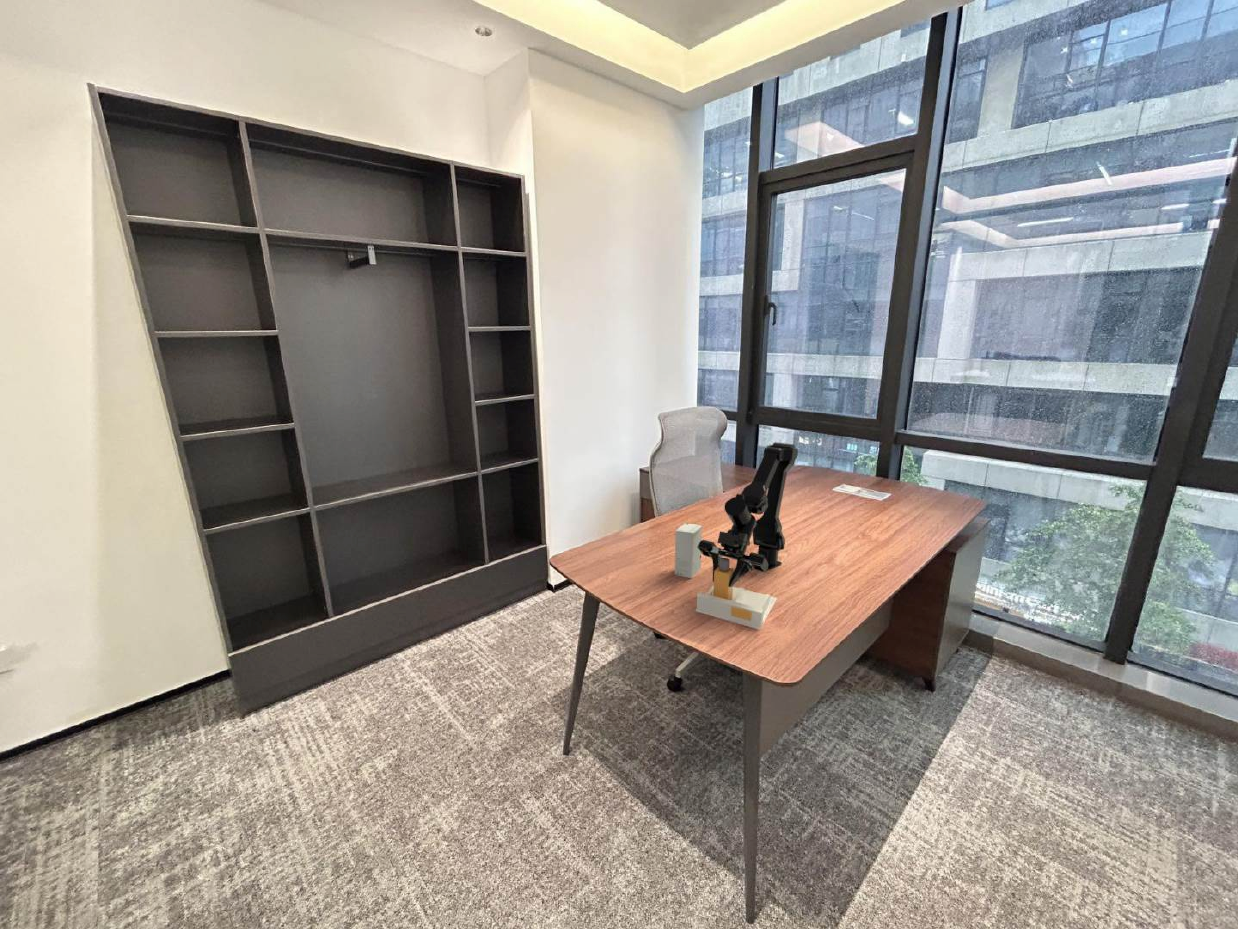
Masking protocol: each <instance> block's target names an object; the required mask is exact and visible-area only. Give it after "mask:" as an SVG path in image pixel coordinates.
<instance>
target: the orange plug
mask: <svg viewBox="0 0 1238 929" xmlns="http://www.w3.org/2000/svg"><path fill="white" fill-rule="evenodd" d="M734 570H735V569H734V568H732V567H730V558H728V557H722V558H720V562H719V567H718V568H717V569H716V570H715V571H714V582H713V585H714V591H713V596H716V597H720V598H723V599H727V600H732V596H733V587H734V585H733V586H732V587H729V582H730V579H731V577H732V575H733V572H734Z"/></svg>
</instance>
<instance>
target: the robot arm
mask: <svg viewBox="0 0 1238 929" xmlns="http://www.w3.org/2000/svg"><path fill="white" fill-rule="evenodd" d="M798 455H799V449H798V448H796V445H795V444H793V443H783V442H775V441H774V442H773V443H772V444H769V445H766V447H765V448H764V449H763V457H762V459H761V461H760V463H759V465H758V468H757V470H756V472H755V474H754V477H753V479H752V481H751V483H750V484H748V485H746V486H745V487H744V488H743V489H742V491H741V493H740V494H739V493H736V495H735V496H734V497H731V498H729V499H728V500H726V502H725V503H724V506H723V507H724V511H725V514H726V515H727V516H728V518H729V520H730V522H731V523H732V525H731V529H728V530H727V532H725V531H719V534H718V539H717V542H716V543H717V544H720V546H721V547H722V548H721V547H718V546H717V545H716V543H715V541H710V540H706V539H701V541H700V542H699V544H698V549H699V550H700V552H701V555H703V556H704V557H707V558H711V561H712V582H713V583H714V571H715V570H716V569H717V568H718V567H719V562H720V558H728V559H732V560H735V561H736V566H735V569H734V572H733V575H732V577H731V579H730V582H729V587H732V586H733V587H734V585H735V584H736V583H737V582H738V581H739V580H740V579H741V578H742V577H744V576H745V575H746V574H747V573H749V572H750V573H752V572H753V568H754V570H755V571H757V572H761V573H767V572H768V570H771V569H773V568H775V567H778V566H780V565H779V564H781V565H782V561H780V560H778V558H779V552H780V551H782V550H785V545H786V538H785V536H784V534H783V532H782V531H783V525H782V523H781V520H780V512H781V506H782V500H783V496H784V490H785V485H786V480H787V475H788V472H789V471H790V470H791V469H792V467H794V465H795V462H796V460H797V458H798ZM753 514H754V515H759V516H760V515H761V517H759V518H758V519H756V517H755V516H754V515H753ZM751 538H752V542H753V545H754V546H758V549H757V550H758V551H757V553H756V552H753V551H752V552H751V551H750V553H749V554H748V555H747V554H746V552H747V548H748V547H749V546H750V544H751Z"/></svg>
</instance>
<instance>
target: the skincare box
mask: <svg viewBox="0 0 1238 929" xmlns="http://www.w3.org/2000/svg"><path fill="white" fill-rule="evenodd" d="M702 531H703V526H702V525H699V524H692V523H686V522H685V523H684V524H683V525H680V526H679V528H678V529H676V530H675V533H674V536H675V538H674V575H675V576H680V577H683V578H684V577H685V578H689V579H693V577H694V576H695V575H696V574H697V572H699V571H700V570H701V569H702V553H701V552H700V550H699V549H698V544H699V542H700V541H702V534H703V532H702Z"/></svg>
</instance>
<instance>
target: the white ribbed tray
mask: <svg viewBox="0 0 1238 929" xmlns="http://www.w3.org/2000/svg"><path fill="white" fill-rule="evenodd" d="M713 591H714V584H713V585H712V586H711V588H710V589H709V590H708V591H707V592H706V593H703V592H699V593H698V594H697V595H696V609H695V612H696V613H701V614H705V615H708V616H712V617H714V618H719V619H721V620H725V621H728V622H732V623H735V624H739V625H742V626H746V627H750V628H752V629H757V630H761V628H762V626H763V624H764V623H765V621H766V619H767V617H768V616H769V615H770V614H769V613H770V612H771V610H772V608H773V607H774V605H775V603H776V601H777V600H778V597H775V596H772V595H771V594H767V593H766V594H764V593H760V592H755V591H752V590H748V589H745V587H736V586H733V596H732V600H727V599H723V598H720V597H716V596H713Z"/></svg>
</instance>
